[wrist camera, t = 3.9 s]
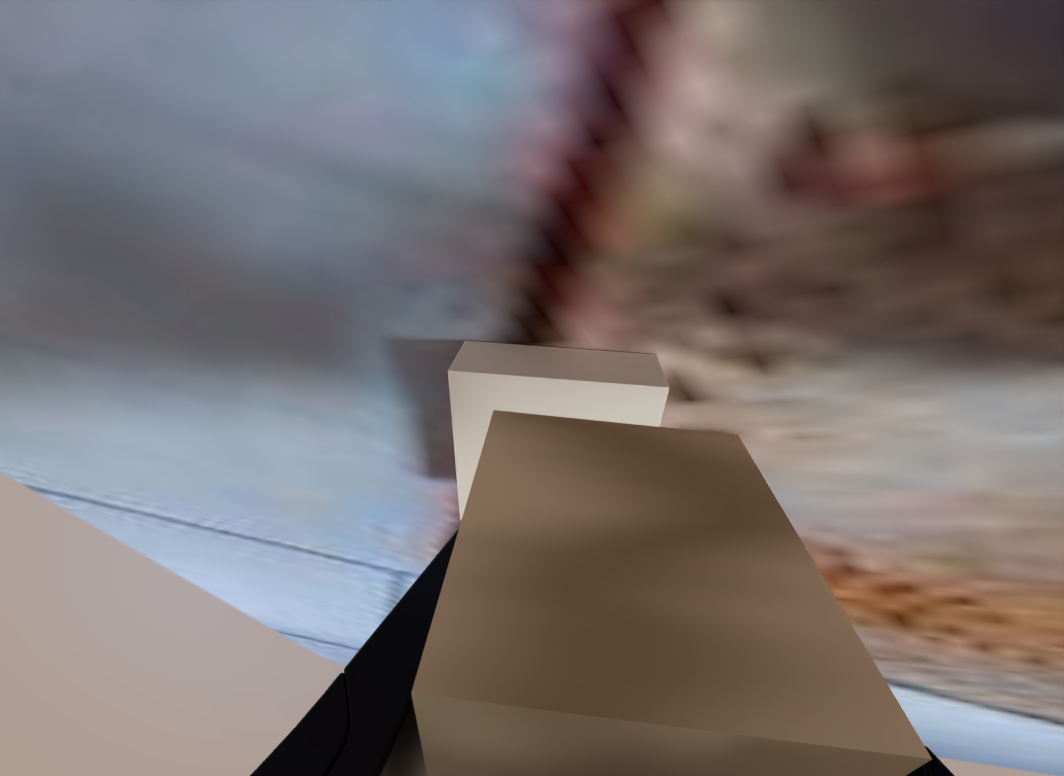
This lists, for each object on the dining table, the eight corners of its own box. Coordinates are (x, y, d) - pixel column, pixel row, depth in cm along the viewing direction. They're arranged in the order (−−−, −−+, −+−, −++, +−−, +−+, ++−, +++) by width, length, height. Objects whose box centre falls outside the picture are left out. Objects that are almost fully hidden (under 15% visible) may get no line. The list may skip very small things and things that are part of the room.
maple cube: (738, 434, 8) (932, 758, 4) (674, 582, 11) (747, 874, 6) (493, 410, 8) (411, 692, 4) (490, 561, 11) (438, 831, 6)
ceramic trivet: (656, 354, 18) (669, 387, 16) (625, 493, 23) (631, 536, 20) (464, 340, 19) (447, 370, 16) (472, 479, 23) (460, 519, 21)
